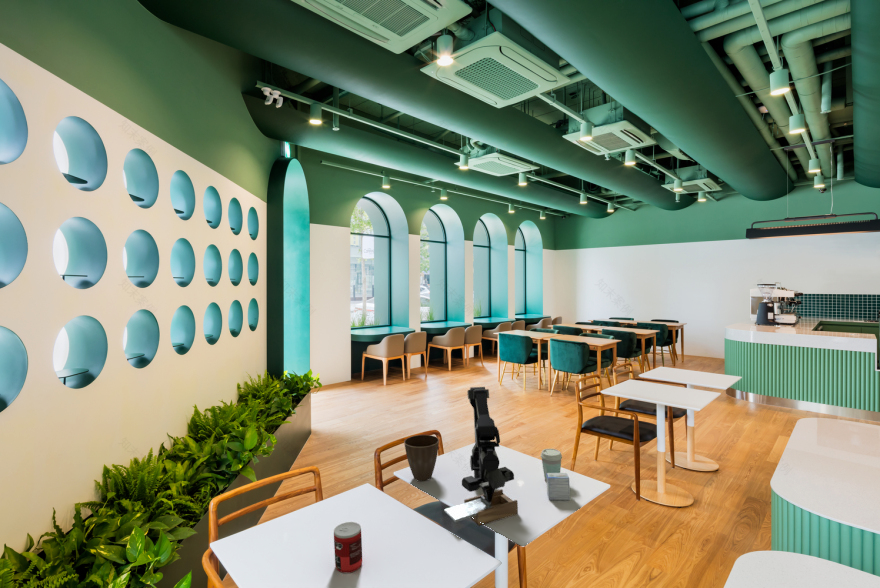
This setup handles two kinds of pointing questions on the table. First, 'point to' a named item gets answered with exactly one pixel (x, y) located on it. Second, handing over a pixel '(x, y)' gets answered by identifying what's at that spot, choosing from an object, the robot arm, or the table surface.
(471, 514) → the cover plate
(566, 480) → the medicine box
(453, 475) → the table surface
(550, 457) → the coffee cup
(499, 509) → the walnut box
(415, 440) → the plant pot
